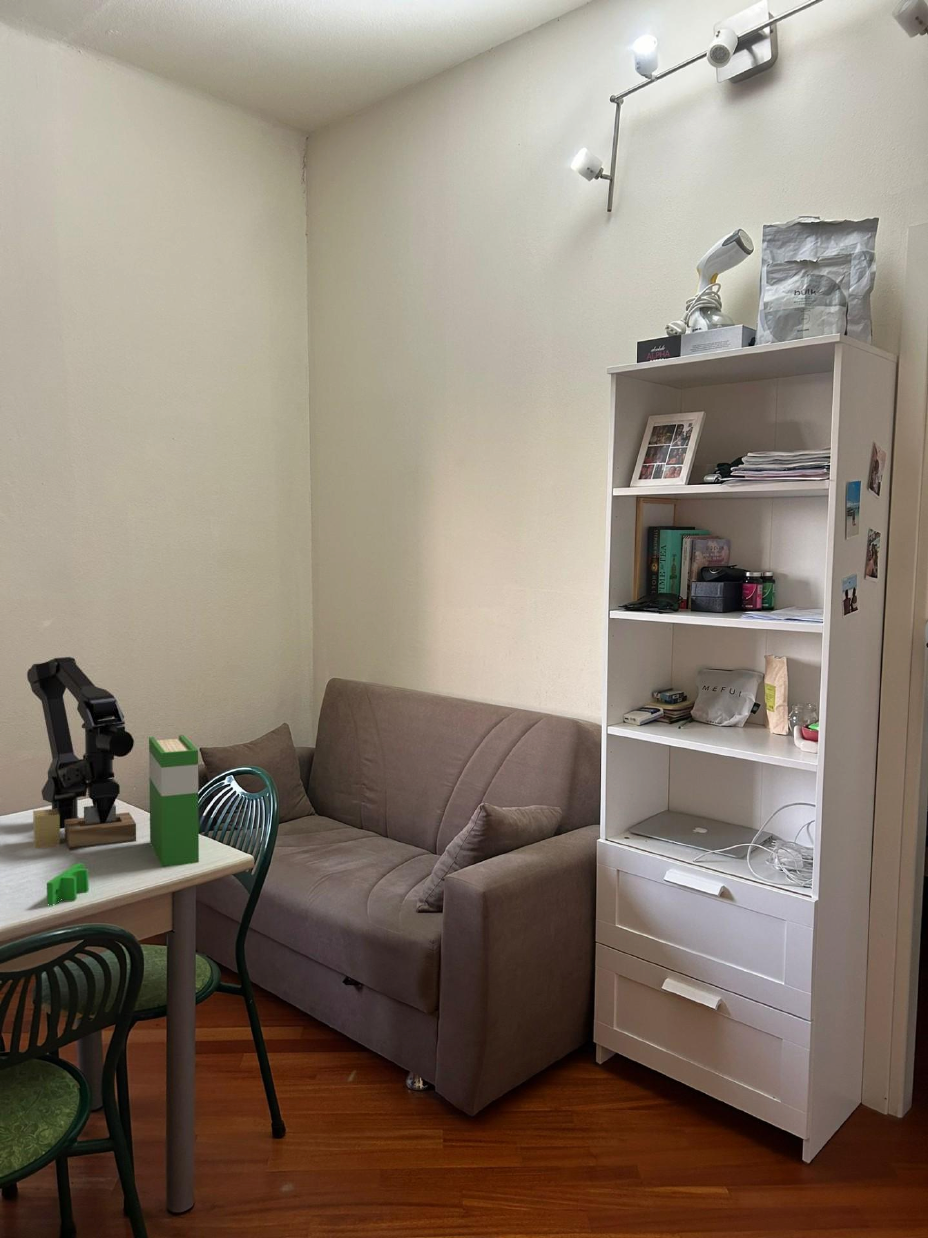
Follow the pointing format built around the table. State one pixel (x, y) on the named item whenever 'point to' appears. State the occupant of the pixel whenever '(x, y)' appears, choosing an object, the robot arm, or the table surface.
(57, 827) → the square bit
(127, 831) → the socket block
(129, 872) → the table surface
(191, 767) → the hardback book
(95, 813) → the block
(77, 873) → the green finned bracket
